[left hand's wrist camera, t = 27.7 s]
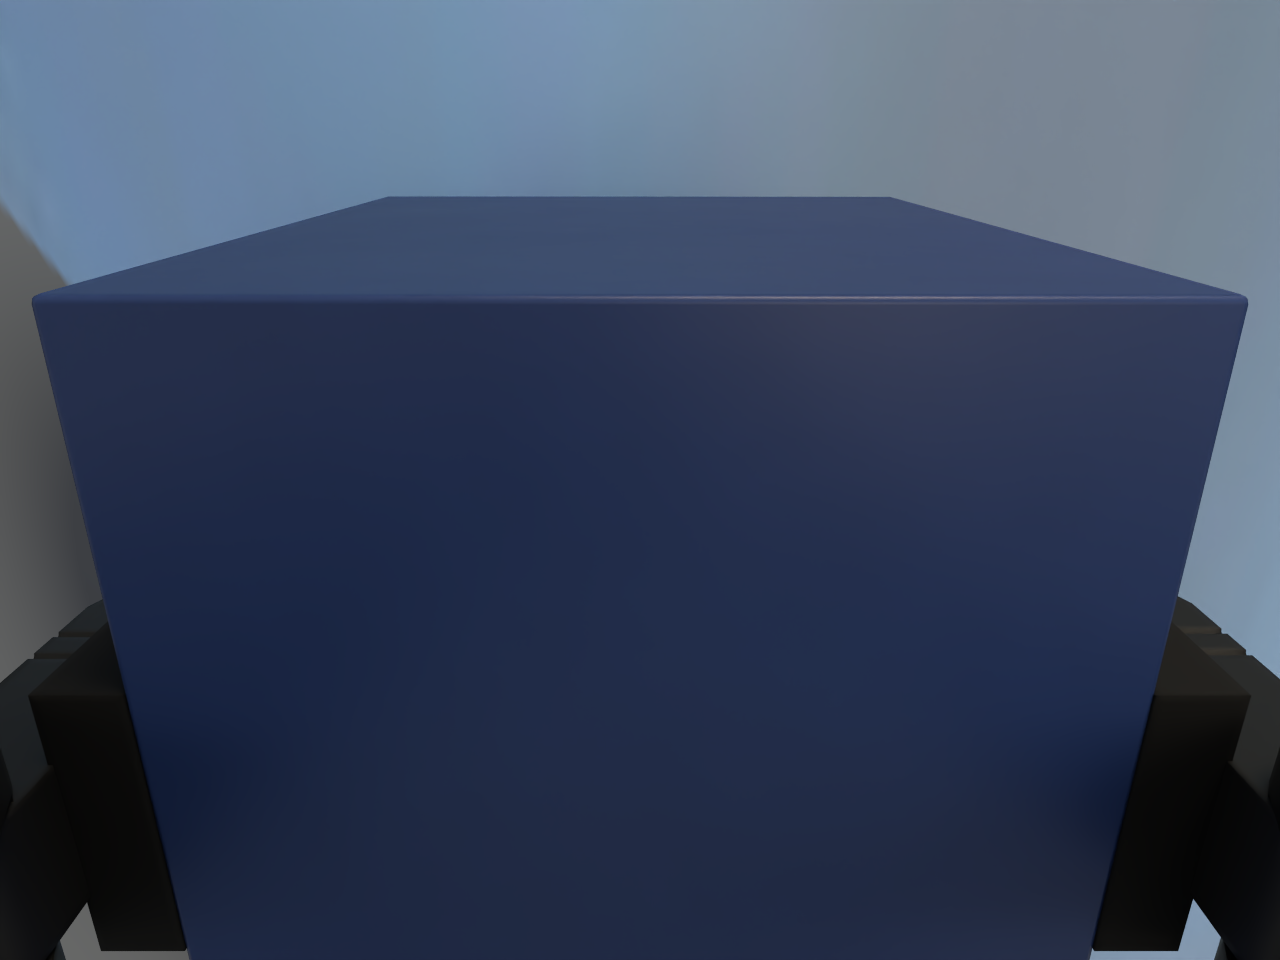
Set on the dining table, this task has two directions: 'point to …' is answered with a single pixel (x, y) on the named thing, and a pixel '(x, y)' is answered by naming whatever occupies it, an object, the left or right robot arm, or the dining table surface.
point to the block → (639, 572)
